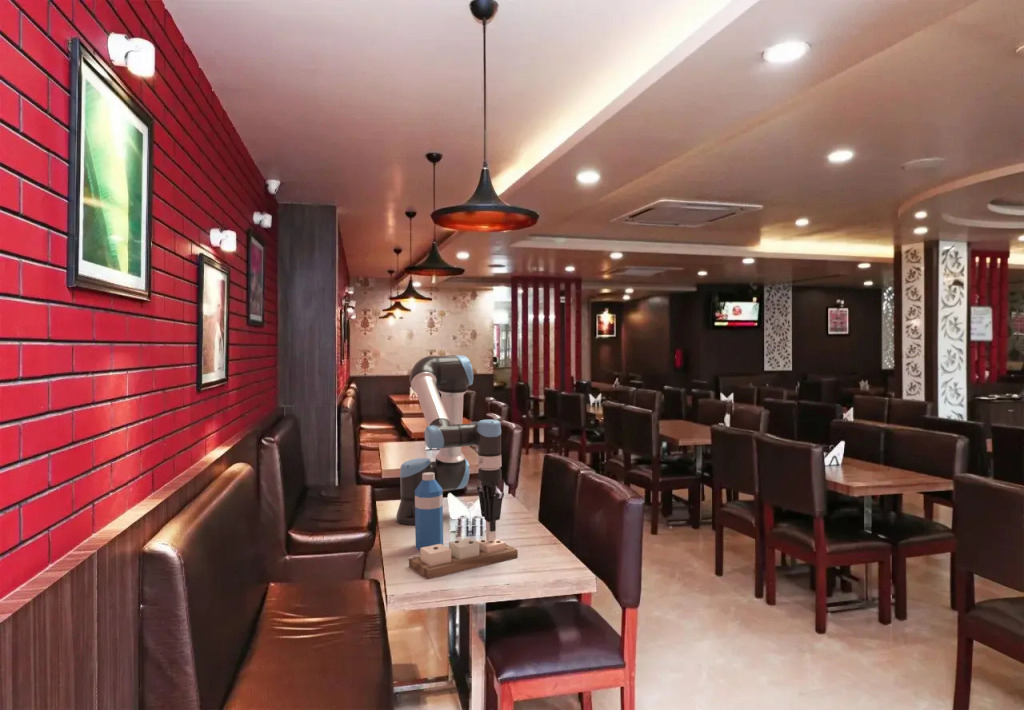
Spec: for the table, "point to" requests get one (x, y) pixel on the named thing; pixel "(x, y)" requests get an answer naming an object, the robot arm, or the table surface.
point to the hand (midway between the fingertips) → (490, 540)
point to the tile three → (491, 545)
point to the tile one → (435, 555)
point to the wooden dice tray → (462, 562)
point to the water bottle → (428, 512)
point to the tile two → (464, 548)
